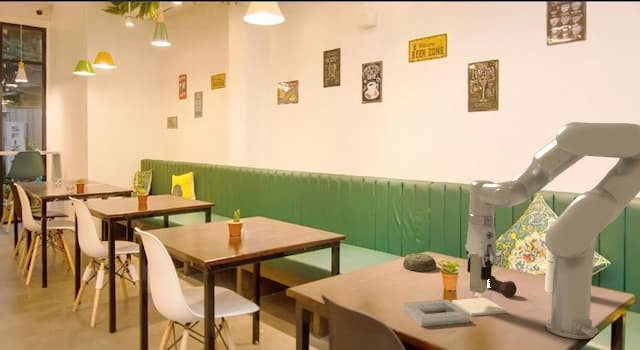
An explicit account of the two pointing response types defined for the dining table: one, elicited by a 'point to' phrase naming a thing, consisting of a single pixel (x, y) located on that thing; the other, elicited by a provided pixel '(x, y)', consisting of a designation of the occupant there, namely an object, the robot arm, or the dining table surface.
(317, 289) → the dining table surface
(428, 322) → the socket block
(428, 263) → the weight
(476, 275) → the grey upright block
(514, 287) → the dark brown dumbbell
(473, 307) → the tile
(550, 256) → the cylindrical container
